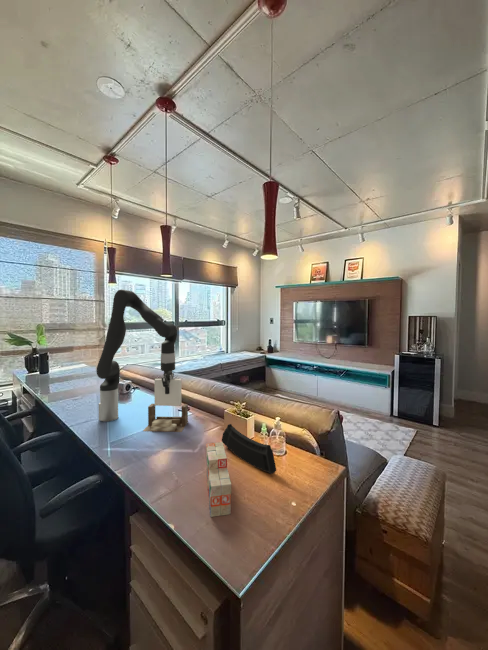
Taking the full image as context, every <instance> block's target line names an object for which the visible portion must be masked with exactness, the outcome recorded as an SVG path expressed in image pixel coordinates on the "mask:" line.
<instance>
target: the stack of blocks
mask: <svg viewBox="0 0 488 650" xmlns="http://www.w3.org/2000/svg"><path fill="white" fill-rule="evenodd" d="M205 444H206V445H205V448H206V451H205V454H206V456H205V458H206V488H207V494H208V495H207V496H208V506H209V507H208V508H209V509H208V510H209V515H210V518H212V517H213V518H214V517H218V516H219V517H220V516H228V515H231V513H232V512H231V511H232V509H231V507H232V506H231V504H232V495H231V494H232V482H231V478H230V477H231V476H230V475H229V470H228V458H227V454H226V451H225V447H224V446H225V444H224V443H223V442H222V441H221V442H210V443H205Z"/></svg>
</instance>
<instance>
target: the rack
mask: <svg viewBox="0 0 488 650" xmlns="http://www.w3.org/2000/svg"><path fill="white" fill-rule="evenodd" d="M188 405H189V404H188V403H184V404H183V405H181V416H156V406H155V403H151V404H149V405H148V406H147V416H148V417H147V421H148V422H147V424H148V425H147V426H146V427H145V428H144V429H143V430H142V432H150V433H151V432H155V433H157V432H161V433H162V432H164V433H182V432H183V431H184V429H185V427H186V426H187V425H188V423H189V414H188V413H189V409H188V408H189V407H188ZM154 420H172V424H177V428H176V429H175V431H151V426H152V422H153V421H154Z"/></svg>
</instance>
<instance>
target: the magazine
mask: <svg viewBox="0 0 488 650" xmlns="http://www.w3.org/2000/svg"><path fill="white" fill-rule="evenodd" d="M221 442H223V445H224V446H226V447H227V450H230V451H231V452H232V453H233V454H234V455H235V456H237V457H239V459H240V460H242V461H244V462H245V463H247V464H249V465H250V466H252V467H254V468H257V469H260V470H262V471H263V472H266V473H268V474H270V475H271V474H274V473H276V471H277V467H276V461H275V460H276V459H275V456H274V455H275V454H274V451H273V448H272V447H271V444H266V443H265V444H263V443H261V442H258V441H256V440H254V439H252V438H250V437H248V436H246V435H244V434H243V433H242V432H240V431H239V430H238V429H236V428H235V427H234V426H233V424H232V423H229V424H227V427H226V428H225V429H224V431H223V432H222V437H221Z"/></svg>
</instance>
